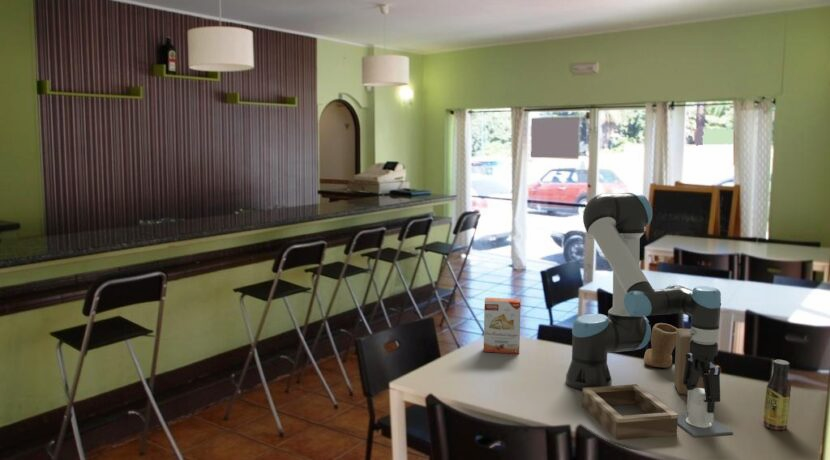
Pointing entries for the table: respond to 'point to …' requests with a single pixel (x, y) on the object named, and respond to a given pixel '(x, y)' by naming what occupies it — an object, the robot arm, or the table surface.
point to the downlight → (697, 409)
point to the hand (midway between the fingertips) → (699, 416)
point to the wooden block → (683, 360)
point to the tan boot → (661, 345)
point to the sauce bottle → (777, 397)
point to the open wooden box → (629, 426)
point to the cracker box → (502, 325)
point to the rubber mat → (698, 431)
